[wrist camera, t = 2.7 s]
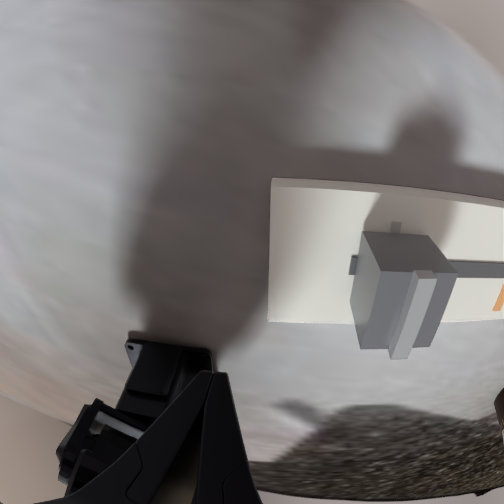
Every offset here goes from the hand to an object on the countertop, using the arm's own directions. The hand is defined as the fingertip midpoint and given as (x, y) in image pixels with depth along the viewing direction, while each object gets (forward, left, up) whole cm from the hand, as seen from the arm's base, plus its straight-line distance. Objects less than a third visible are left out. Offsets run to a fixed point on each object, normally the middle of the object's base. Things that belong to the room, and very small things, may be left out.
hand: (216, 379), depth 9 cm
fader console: (0, -10, -9) cm, 13 cm away
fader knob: (0, -7, -7) cm, 10 cm away
